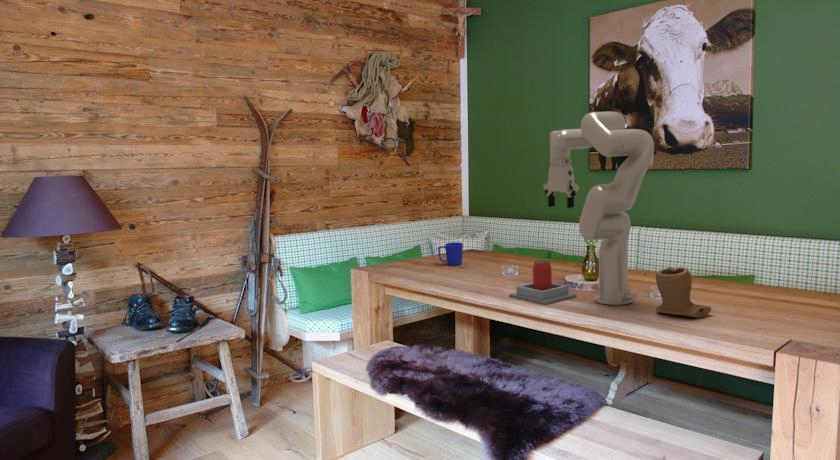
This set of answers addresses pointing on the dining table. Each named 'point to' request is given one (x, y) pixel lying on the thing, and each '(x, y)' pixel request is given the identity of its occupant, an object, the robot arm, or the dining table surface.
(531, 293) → the box
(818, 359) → the dining table surface
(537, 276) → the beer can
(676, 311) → the brown l-shaped piece
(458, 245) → the mug
